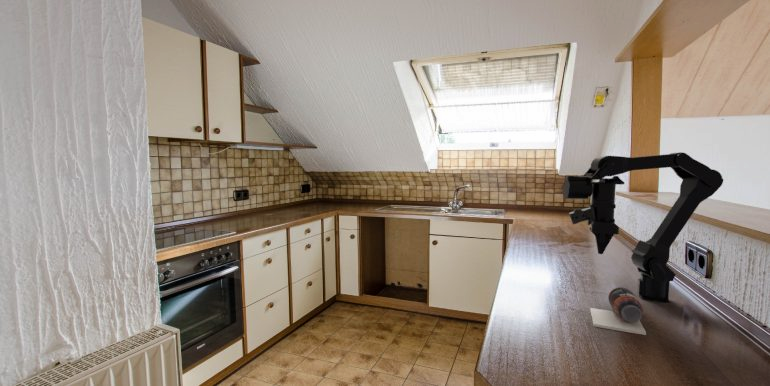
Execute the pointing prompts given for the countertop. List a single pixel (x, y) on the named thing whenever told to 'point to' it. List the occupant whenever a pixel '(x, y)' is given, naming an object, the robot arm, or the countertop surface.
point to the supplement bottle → (625, 305)
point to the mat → (615, 322)
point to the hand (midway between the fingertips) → (600, 253)
